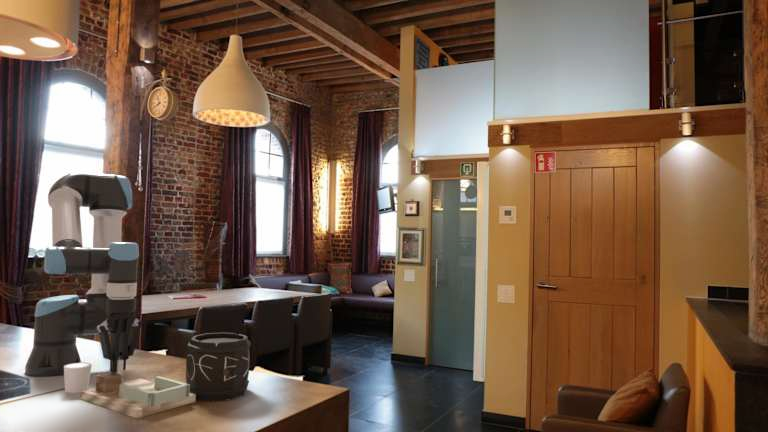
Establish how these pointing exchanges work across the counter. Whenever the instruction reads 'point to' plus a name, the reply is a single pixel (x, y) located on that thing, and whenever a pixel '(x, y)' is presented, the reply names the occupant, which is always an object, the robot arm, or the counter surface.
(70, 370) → the shot glass
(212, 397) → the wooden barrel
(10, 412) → the counter surface
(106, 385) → the block
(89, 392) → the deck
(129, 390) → the cubby
